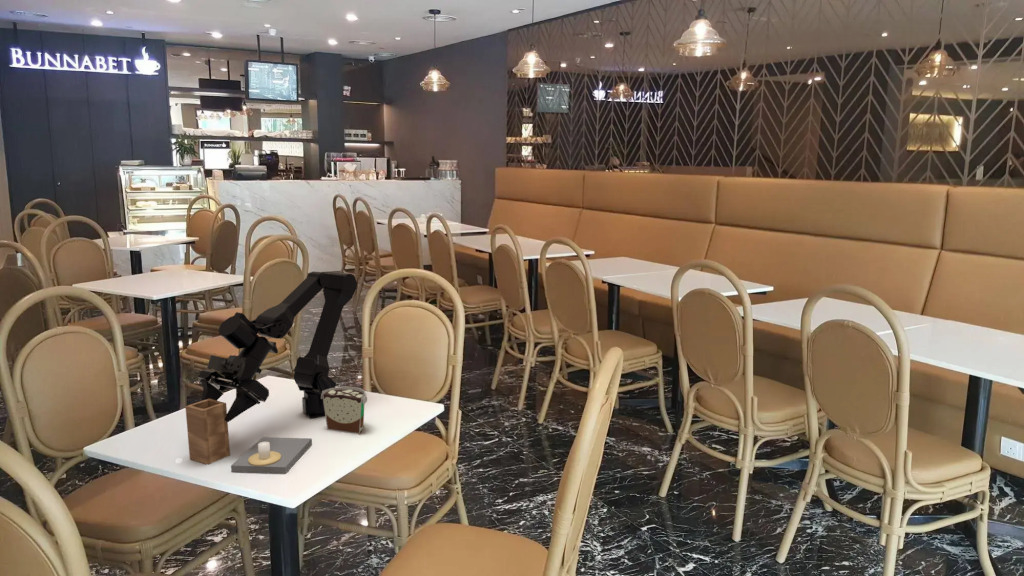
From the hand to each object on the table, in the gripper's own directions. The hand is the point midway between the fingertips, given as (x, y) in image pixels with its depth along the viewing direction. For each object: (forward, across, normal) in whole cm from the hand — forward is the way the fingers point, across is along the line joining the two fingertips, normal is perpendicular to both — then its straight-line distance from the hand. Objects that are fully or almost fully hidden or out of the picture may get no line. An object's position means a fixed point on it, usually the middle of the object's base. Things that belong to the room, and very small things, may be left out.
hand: (212, 417), depth 157 cm
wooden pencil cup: (+7, 0, +5) cm, 9 cm away
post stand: (+2, +13, +10) cm, 17 cm away
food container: (-14, +15, +26) cm, 33 cm away
